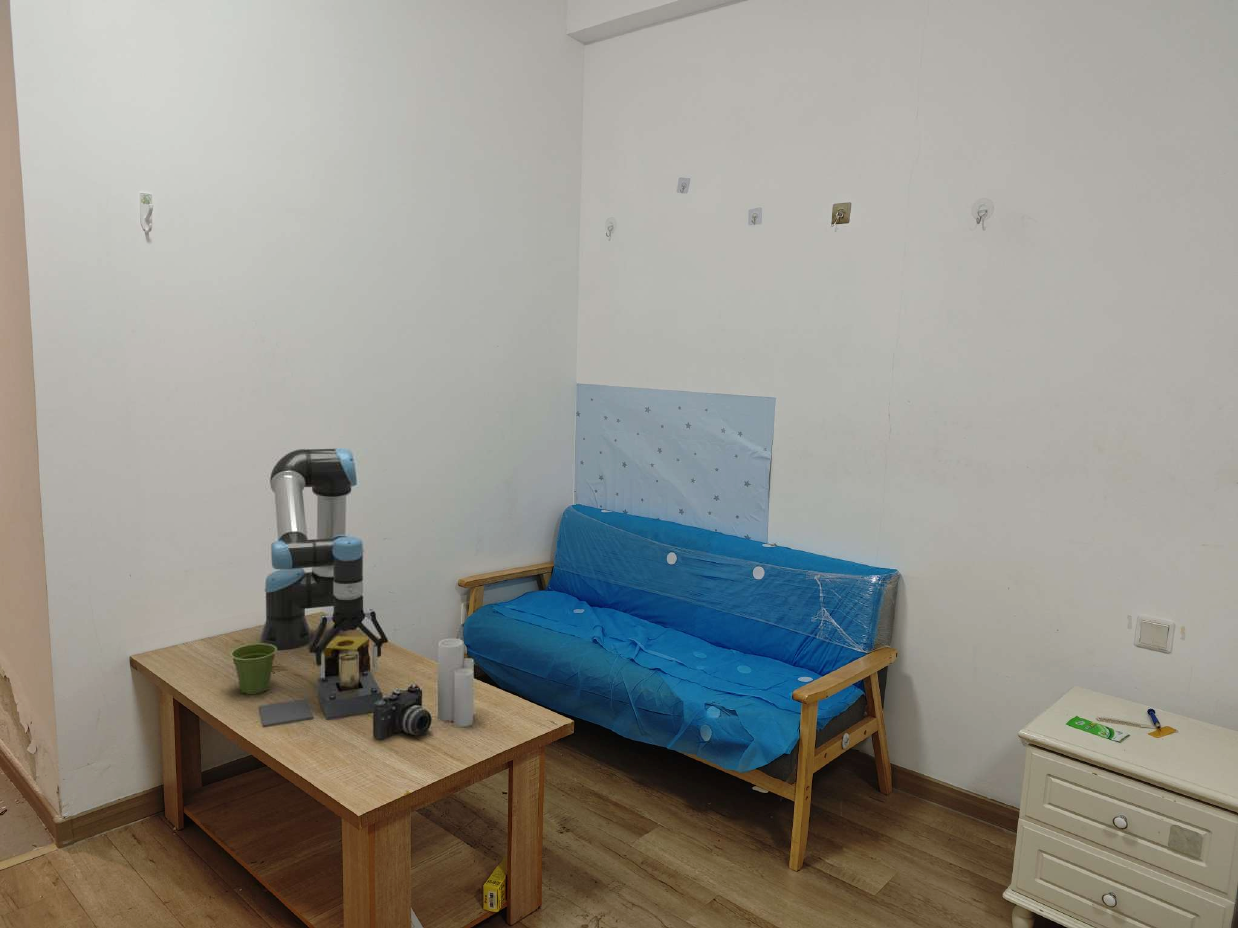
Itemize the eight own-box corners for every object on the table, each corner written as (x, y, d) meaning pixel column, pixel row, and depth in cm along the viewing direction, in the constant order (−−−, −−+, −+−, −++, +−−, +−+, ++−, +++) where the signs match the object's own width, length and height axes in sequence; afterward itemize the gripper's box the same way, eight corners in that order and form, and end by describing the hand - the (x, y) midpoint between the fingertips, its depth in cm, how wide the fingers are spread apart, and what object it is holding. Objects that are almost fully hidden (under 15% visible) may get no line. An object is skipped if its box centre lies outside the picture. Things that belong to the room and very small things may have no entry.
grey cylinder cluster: (432, 716, 216) (432, 643, 213) (451, 707, 222) (451, 636, 219) (464, 728, 210) (465, 653, 207) (483, 718, 216) (484, 645, 213)
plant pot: (224, 688, 228) (222, 650, 226) (266, 677, 237) (265, 640, 235) (242, 702, 220) (241, 662, 218) (285, 690, 229) (284, 651, 227)
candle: (371, 669, 245) (370, 637, 244) (357, 682, 236) (356, 649, 234) (338, 667, 246) (337, 635, 245) (322, 680, 236) (322, 647, 235)
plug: (337, 700, 223) (337, 651, 221) (357, 697, 226) (356, 648, 224) (341, 708, 219) (340, 658, 217) (360, 705, 221) (360, 655, 219)
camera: (399, 749, 198) (399, 710, 197) (368, 736, 204) (368, 698, 203) (441, 727, 210) (442, 690, 209) (411, 716, 216) (412, 680, 214)
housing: (317, 695, 226) (317, 676, 225) (369, 687, 232) (369, 668, 232) (326, 719, 212) (326, 699, 211) (382, 710, 218) (382, 690, 218)
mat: (258, 708, 217) (258, 705, 217) (307, 700, 223) (307, 698, 223) (263, 727, 207) (263, 724, 206) (313, 718, 212) (313, 716, 212)
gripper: (300, 605, 209) (301, 684, 212) (399, 594, 221) (399, 670, 223) (296, 596, 215) (297, 674, 218) (392, 587, 227) (392, 660, 230)
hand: (349, 672), depth 221 cm, fingers open, 13 cm apart
